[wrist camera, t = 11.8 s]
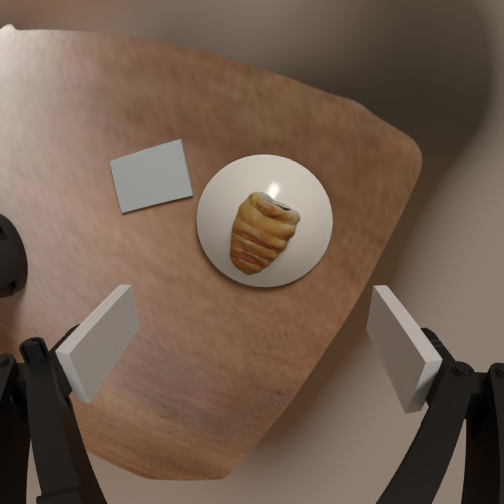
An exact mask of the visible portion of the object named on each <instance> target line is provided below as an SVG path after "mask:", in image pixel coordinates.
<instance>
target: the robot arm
mask: <svg viewBox="0 0 504 504" xmlns="http://www.w3.org/2000/svg"><path fill="white" fill-rule="evenodd" d="M26 277H27V260H26V254H25V250H24V247H23V244H22V241H21V238H20V236H19V234H18V232H17V230H16V229H15V227H14V226H13V224H12V223H11V222H10V221H9V220H8V219H7V218H6V217H5V216H3V215H1V214H0V298H3V297H9V296H12V295H14V294H15V293H16V292H18V291H19V290H21V289H22V287H23V286H24V284H25V281H26ZM139 328H140V325H139V320H138V316H137V311H136V306H135V301H134V296H133V290H132V285H119V286H118V287H117V288H116V289H115V290H114V291H113V292H112V293H111V294H110V295H109V296H108V297H107V298H106V299H105V300H104V301H103V302H102V303H101V304H100V305H99V306H98V307H97V308H96V309H95V310H94V311H93V312H92V313H91V314H90V315H89V316H88V317H87V318H86V319H85V320H84V321H83V322H82V323H81V324H78V325H76V326H75V327H73V328H71V329H70V330H69V331H68V332H67V333H66V334H65V336H63V337H62V338H61V340H59V341H58V342H57V343H56V345H55V346H54V347H53V348H52V349H51V350H50V351H49V352H48V349H47V347H46V344H45V341H44V339H42V338H40V337H33V338H30V339H27V340H25V341H24V342H22V344H21V345H20V347H19V350H20V353H21V355H22V357H23V359H24V362H25V363H17V362H16V360H15V358H14V356H13V355H12V354H2V355H0V504H26V488H27V487H26V486H27V469H28V456H29V448H30V439H31V442H32V449H33V455H34V460H35V466H36V471H37V475H38V480H39V484H40V488H41V493H42V494H41V496H37V498H36V503H37V504H107V502H106V500H105V498H104V495H103V493H102V491H101V489H100V486H99V484H98V481H97V479H96V477H95V474H94V471H93V469H92V466H91V463H90V461H89V458H88V455H87V453H86V450H85V447H84V444H83V441H82V437H81V434H80V431H79V428H78V424H77V421H76V417H75V414H74V410H73V406H72V402H71V400H70V398H69V395H70V393H71V392H72V391H73V393H74V395H75V397H76V399H77V400H78V401H82V402H86V403H89V404H91V402H92V400H93V399H94V397H95V396H96V394H97V392H98V391H99V389H100V388H101V386H102V384H103V383H104V381H105V380H106V378H107V377H108V375H109V374H110V372H111V370H112V369H113V367H114V366H115V364H116V363H117V361H118V360H119V358H120V357H121V355H122V354H123V352H124V351H125V349H126V348H127V346H128V345H129V343H130V342H131V340H132V339H133V337H134V336H135V334H136V333H137V331H138V330H139ZM366 330H367V332H368V334H369V336H370V338H371V340H372V342H373V344H374V346H375V348H376V350H377V353H378V355H379V356H380V359H381V361H382V363H383V365H384V367H385V369H386V371H387V374H388V376H389V378H390V380H391V382H392V385H393V387H394V389H395V391H396V394H397V396H398V398H399V400H400V403H401V405H402V407H403V410H404V412H405V414H406V413H411V412H416V411H420V410H421V409H422V407H423V405H424V403H425V401H426V402H427V404H428V406H429V408H428V410H427V412H426V415H425V416H424V418H423V420H422V422H421V425H420V428H419V430H418V432H417V434H416V436H415V438H414V440H413V442H412V444H411V446H410V447H409V449H408V451H407V453H406V455H405V457H404V459H403V460H402V462H401V464H400V466H399V468H398V469H397V471H396V473H395V474H394V476H393V478H392V479H391V481H390V482H389V484H388V486H387V487H386V489H385V490H384V492H383V493H382V495H381V496H380V498H379V499H378V501H377V502H376V504H432V502H433V500H434V497H435V495H436V493H437V491H438V489H439V487H440V484H441V482H442V480H443V477H444V475H445V473H446V470H447V467H448V465H449V462H450V460H451V457H452V455H453V452H454V449H455V446H456V443H457V440H458V437H459V434H460V431H461V428H462V424H463V421H464V419H466V458H465V472H464V484H463V493H462V500H461V504H504V363H494V364H492V365H491V366H490V368H489V370H488V372H487V373H481V372H474V370H473V368H472V367H471V366H469V365H468V364H466V363H464V362H460V361H455V360H454V358H453V357H452V356H451V354H450V353H449V352H448V350H447V349H446V348H445V346H443V344H442V342H441V341H439V339H438V337H437V336H436V335H435V333H434V332H432V331H431V330H429V329H427V328H419V327H418V325H417V324H416V323H415V321H414V320H413V319H412V317H411V316H410V315H409V313H408V312H407V311H406V310H405V308H404V307H403V306H402V304H401V303H400V302H399V301H398V300H397V298H396V297H395V296H394V294H393V293H392V292H391V291H390V289H389V288H388V287H387V286H374V287H373V294H372V300H371V307H370V312H369V319H368V324H367V329H366Z"/></svg>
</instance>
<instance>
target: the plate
mask: <svg viewBox="0 0 504 504" xmlns="http://www.w3.org/2000/svg"><path fill="white" fill-rule="evenodd" d="M254 192H263V193H265V194H268V195H269V196H271V197H272V199H273V200H275V201H278V202H281V203H284V204H286V205H288V206H289V207H290V208H291V209H292V210H295V211H297V212H298V213H299V215H300V217H301V219H300V221H299V222H298V224H297V226H296V231H295V234H294V236H293V237H292V238H290V240H289V242H288V243H287V247H286V250H284V251H283V252H281V253H280V254H279V255H278V257H277V258H276V259H275V260H274V261H273V262H272V263H271V264H270V266H268V267H266V268H264V269H263V270H262V271H261V272H259V273H257V274H252V275H246V274H244V273H243V272H242V271H240V270H239V269H237V268H236V267H235V266H234V264H233V263H232V261H231V258H230V249H231V232H232V225H233V222H234V220H235V218H236V215H237V213H238V208H239V206H240V205H241V204H242V203H243V202H244V201H245V200H246V199H247V198H248V197H249V195H250V194H252V193H254ZM332 224H333V223H332V210H331V205H330V202H329V199H328V196H327V194H326V192H325V190H324V188H323V187H322V185H321V184H320V182H319V181H318V180H317V179H316V177H315V176H314V175H313V174H312V173H311V172H309V171H308V170H307V169H306V168H304V167H303V166H301V165H300V164H298V163H296V162H294V161H292V160H290V159H287V158H284V157H280V156H275V155H253V156H248V157H244V158H242V159H239V160H236V161H234V162H232V163H230V164H228V165H227V166H226V167H224V168H223V169H221V170H220V171H219V172H218V173H217V174H216V175H215V176H214V177H213V178H212V179H211V181H210V182H209V183H208V185H207V186H206V188H205V190H204V191H203V194H202V196H201V198H200V201H199V205H198V210H197V231H198V236H199V240H200V243H201V245H202V248H203V250H204V252H205V253H206V255H207V257H208V258H209V259H210V261H211V262H212V263H213V264H214V265H215V266H216V267H217V268H218V269H219V270H220V271H221V272H222V273H224V274H225V275H226V276H228V277H230V278H231V279H233V280H235V281H238V282H240V283H243V284H246V285H250V286H255V287H274V286H280V285H284V284H287V283H290V282H292V281H294V280H297V279H298V278H300V277H302V276H303V275H305V274H306V273H307V272H309V271H310V270H311V269H312V268H313V267H314V266H315V265H316V264H317V263H318V261H319V260H320V259H321V257H322V256H323V254H324V252H325V251H326V249H327V246H328V244H329V241H330V237H331V233H332Z"/></svg>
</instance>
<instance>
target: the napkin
mask: <svg viewBox="0 0 504 504" xmlns="http://www.w3.org/2000/svg"><path fill="white" fill-rule="evenodd" d="M110 166H111V170H112V175H113V179H114V184H115V188H116V192H117V196H118V200H119V204H120V208H121V212H122V213H124V212H128V211H131V210H135V209H139V208H143V207H147V206H151V205H155V204H159V203H163V202H167V201H171V200H176V199H180V198H184V197H189V196H193V191H192V186H191V182H190V177H189V173H188V168H187V164H186V159H185V154H184V149H183V145H182V140H181V139H179V140H176V141H172V142H169V143H165V144H162V145H158V146H155V147H152V148H148V149H145V150H142V151H139V152H136V153H133V154H130V155H127V156H124V157H121V158H118V159H115V160H112V161H110Z"/></svg>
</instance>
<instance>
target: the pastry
mask: <svg viewBox="0 0 504 504" xmlns="http://www.w3.org/2000/svg"><path fill="white" fill-rule="evenodd" d="M300 219H301V217H300V215H299V213H298V212H297V211H295V210H292V209H291V208H290V207H289V206H288V205H286V204H284V203H281V202H278V201H275V200H273V199H272V197H271V196H269V195H268V194H265V193H263V192H254V193H252V194H250V195H249V197H248V198H247V199H246V200H245V201H244V202H243V203H242V204H241V205H240V206H239V208H238V213H237V215H236V218H235V220H234V222H233V225H232V232H231V249H230V258H231V261H232V263H233V264H234V266H235V267H236V268H237V269H239V270H240V271H242V272H243V273H244V274H246V275H252V274H257V273H259V272H261V271H262V270H263V269H264V268H266V267H268V266H270V264H271V263H272V262H273V261H274V260H275V259H276V258H277V257H278V255H279V254H280V253H281V252H283V251H284V250H286V247H287V243H288V242H289V240H290V238H292V237H293V236H294V234H295V231H296V226H297V224H298V222H299V221H300Z"/></svg>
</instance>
